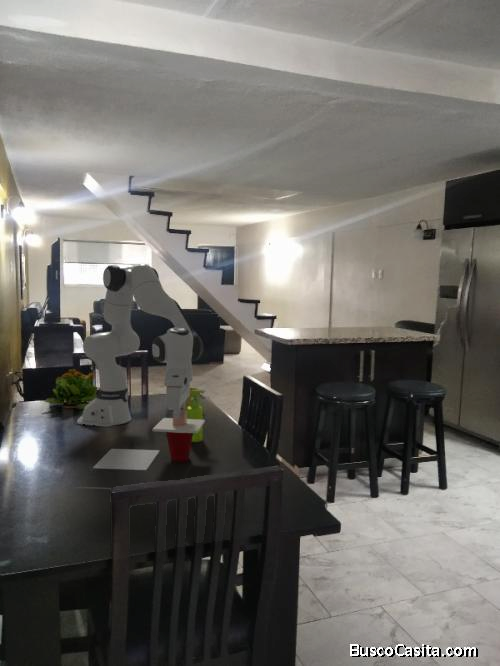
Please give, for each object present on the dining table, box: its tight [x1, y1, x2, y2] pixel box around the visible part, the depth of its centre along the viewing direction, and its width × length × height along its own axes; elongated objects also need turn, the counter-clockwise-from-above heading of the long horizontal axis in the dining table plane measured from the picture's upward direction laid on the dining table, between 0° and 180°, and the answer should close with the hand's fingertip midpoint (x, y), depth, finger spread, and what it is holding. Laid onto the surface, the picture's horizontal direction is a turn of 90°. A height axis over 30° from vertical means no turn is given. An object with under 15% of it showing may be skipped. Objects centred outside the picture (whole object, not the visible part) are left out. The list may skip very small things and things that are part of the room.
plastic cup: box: [165, 432, 193, 463], centre depth 173 cm, size 11×11×12 cm
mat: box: [92, 448, 160, 471], centre depth 173 cm, size 18×18×1 cm
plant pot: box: [185, 387, 201, 410], centre depth 234 cm, size 10×10×10 cm
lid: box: [152, 410, 206, 433], centre depth 172 cm, size 15×15×5 cm
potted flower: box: [43, 368, 99, 410], centre depth 239 cm, size 25×24×18 cm
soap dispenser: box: [187, 388, 206, 443], centre depth 192 cm, size 6×7×20 cm
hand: (179, 415), depth 172 cm, fingers open, 5 cm apart
